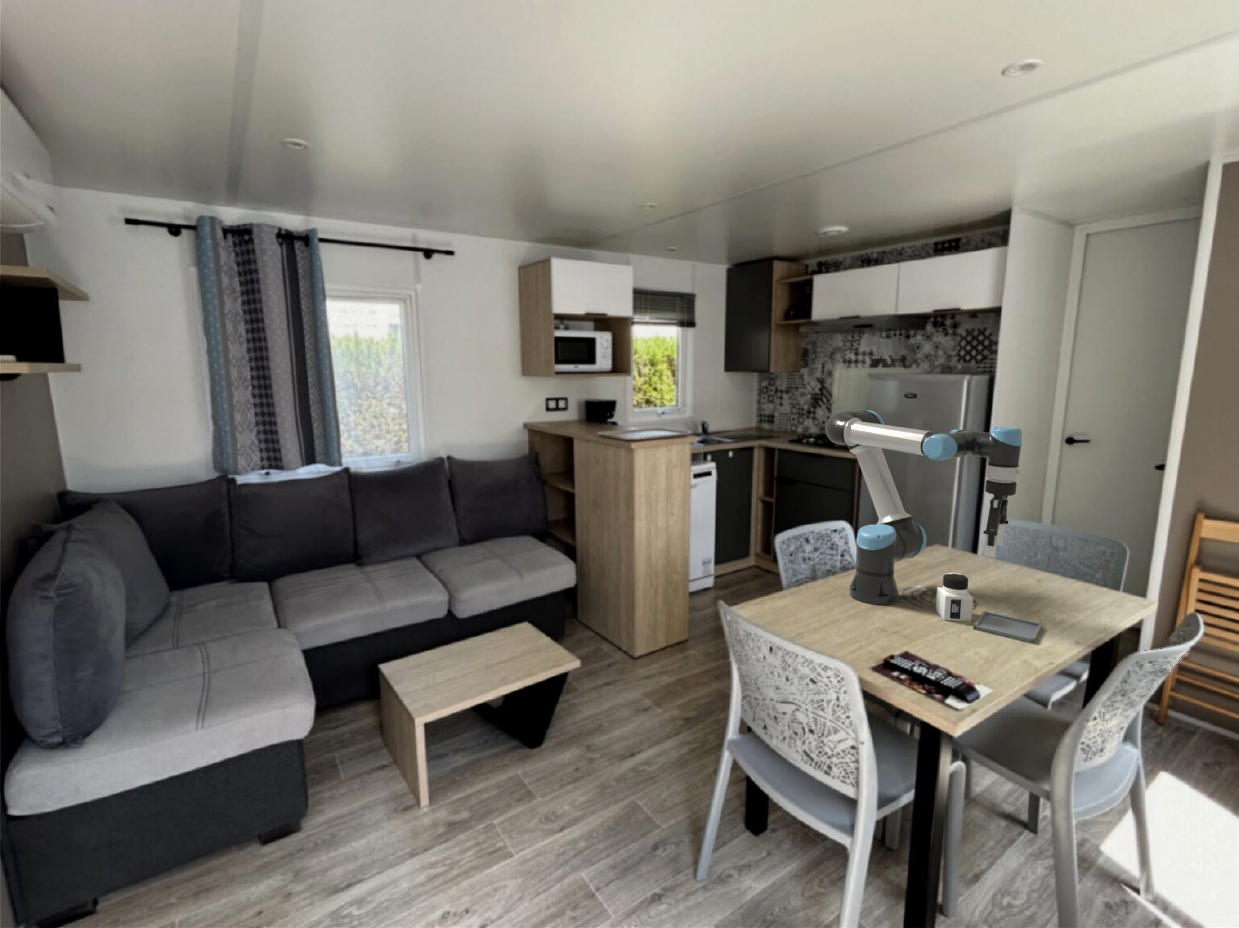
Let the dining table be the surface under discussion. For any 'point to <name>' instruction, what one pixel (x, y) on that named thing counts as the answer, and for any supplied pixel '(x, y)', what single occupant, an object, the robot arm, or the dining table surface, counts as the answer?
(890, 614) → the dining table surface
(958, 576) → the container
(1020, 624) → the tray
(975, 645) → the dining table surface
